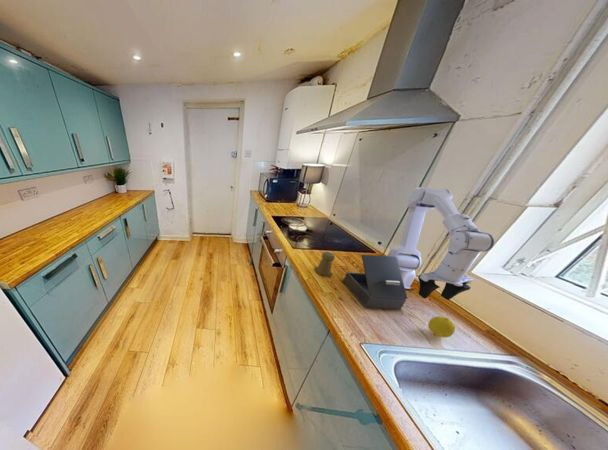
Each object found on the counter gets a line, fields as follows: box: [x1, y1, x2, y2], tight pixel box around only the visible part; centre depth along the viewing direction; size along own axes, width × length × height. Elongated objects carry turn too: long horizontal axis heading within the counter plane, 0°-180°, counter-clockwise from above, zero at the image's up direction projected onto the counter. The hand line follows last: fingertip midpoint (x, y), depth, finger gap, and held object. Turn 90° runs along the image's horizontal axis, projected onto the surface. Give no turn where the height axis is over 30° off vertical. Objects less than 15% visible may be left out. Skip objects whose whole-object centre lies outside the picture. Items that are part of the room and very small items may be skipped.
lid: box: [361, 254, 408, 300], centre depth 76 cm, size 16×13×4 cm
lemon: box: [427, 315, 456, 338], centre depth 66 cm, size 6×6×8 cm
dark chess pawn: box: [315, 251, 336, 277], centre depth 95 cm, size 6×6×11 cm
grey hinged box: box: [342, 272, 407, 311], centre depth 83 cm, size 15×13×5 cm
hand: (433, 297), depth 70 cm, fingers open, 7 cm apart
